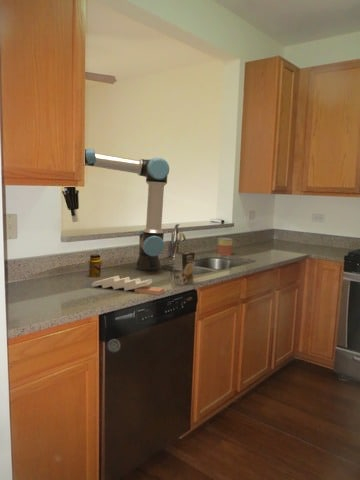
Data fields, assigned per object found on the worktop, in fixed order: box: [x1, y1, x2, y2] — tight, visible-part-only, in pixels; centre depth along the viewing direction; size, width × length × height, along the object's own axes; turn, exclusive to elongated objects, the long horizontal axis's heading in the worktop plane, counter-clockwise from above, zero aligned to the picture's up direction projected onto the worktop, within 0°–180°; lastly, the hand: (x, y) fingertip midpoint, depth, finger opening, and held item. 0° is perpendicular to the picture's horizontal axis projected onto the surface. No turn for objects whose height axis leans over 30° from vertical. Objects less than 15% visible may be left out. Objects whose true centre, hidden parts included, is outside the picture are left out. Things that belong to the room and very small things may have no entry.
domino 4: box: [124, 278, 153, 291], centre depth 185 cm, size 2×6×12 cm
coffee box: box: [172, 250, 196, 286], centre depth 205 cm, size 9×6×16 cm
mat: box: [80, 281, 140, 295], centre depth 189 cm, size 11×30×1 cm, turn 73°
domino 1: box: [92, 275, 121, 287], centre depth 190 cm, size 2×6×12 cm
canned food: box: [216, 237, 234, 256], centre depth 299 cm, size 11×11×12 cm
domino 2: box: [102, 276, 131, 288], centre depth 188 cm, size 2×6×12 cm
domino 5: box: [135, 285, 165, 296], centre depth 183 cm, size 2×6×12 cm
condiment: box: [88, 253, 102, 278], centre depth 211 cm, size 7×8×12 cm
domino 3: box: [112, 277, 142, 290], centre depth 186 cm, size 2×6×12 cm
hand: (75, 221), depth 210 cm, fingers closed
